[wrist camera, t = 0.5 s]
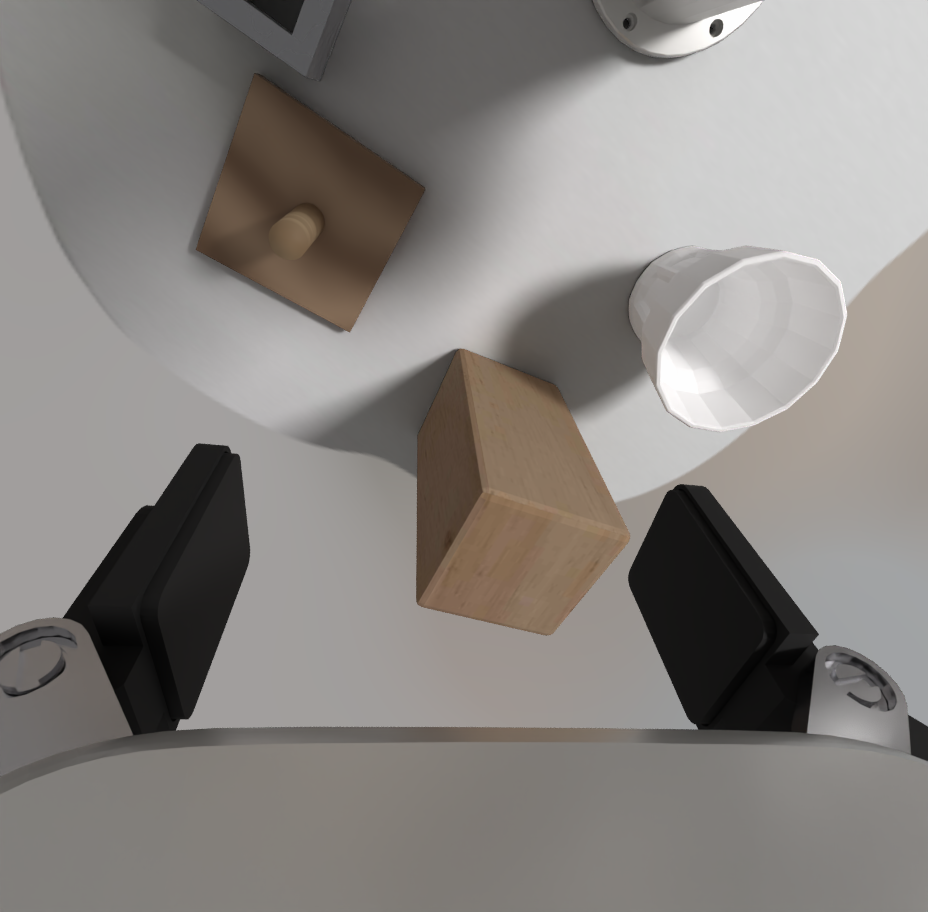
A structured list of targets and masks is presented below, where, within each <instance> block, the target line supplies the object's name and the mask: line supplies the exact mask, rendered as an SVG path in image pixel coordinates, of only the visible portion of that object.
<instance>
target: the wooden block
mask: <svg viewBox="0 0 928 912" xmlns="http://www.w3.org/2000/svg"><path fill="white" fill-rule="evenodd" d="M629 539H630V533H629V531H628V529H627V527H626V525H625V523H624V521H623V519H622V517H621V515H620V513H619V511H618V509H617V507H616V505H615V503H614V501H613V499H612V497H611V495H610V493H609V491H608V489H607V486H606V484H605V482H604V480H603V478H602V476H601V474H600V472H599V470H598V468H597V466H596V464H595V462H594V460H593V458H592V456H591V454H590V452H589V450H588V448H587V446H586V444H585V442H584V440H583V438H582V436H581V434H580V432H579V430H578V428H577V426H576V424H575V422H574V420H573V417H572V415H571V413H570V411H569V409H568V407H567V405H566V403H565V401H564V399H563V397H562V395H561V393H560V391H559V389H558V387H557V386H556V385H554V384H551V383H549V382H546V381H544V380H541V379H538V378H536V377H533V376H531V375H528V374H526V373H523V372H521V371H518V370H516V369H513V368H511V367H508V366H506V365H503V364H501V363H498V362H496V361H493V360H491V359H488V358H485V357H483V356H480V355H478V354H475V353H473V352H470V351H468V350H465V349H459V350H458V351H457V352H456V353H455V356H454V358H453V360H452V362H451V364H450V366H449V369H448V371H447V373H446V375H445V377H444V379H443V382H442V384H441V386H440V388H439V390H438V392H437V395H436V397H435V399H434V401H433V403H432V406H431V408H430V410H429V412H428V414H427V416H426V419H425V421H424V423H423V425H422V427H421V429H420V432H419V434H418V448H417V572H416V573H417V574H416V600H417V604H418V605H419V606H421V607H424V608H428V609H433V610H437V611H442V612H446V613H451V614H455V615H459V616H463V617H468V618H472V619H476V620H481V621H485V622H489V623H494V624H498V625H502V626H507V627H511V628H515V629H520V630H524V631H528V632H533V633H537V634H541V635H551V634H553V633H554V632H555V630H556V629H557V628H558V627H559V626H560V624H561V623H562V622H563V621H564V619H565V618H566V617H567V616H568V615H569V613H570V612H571V611H572V610H573V609H574V607H575V606H576V605H577V604H578V603H579V601H580V600H581V599H582V598H583V597H584V595H585V594H586V593H587V592H588V591H589V589H590V588H591V587H592V586H593V585H594V583H595V582H596V581H597V580H598V578H599V577H600V576H601V575H602V574H603V572H604V571H605V570H606V569H607V568H608V566H609V565H610V564H611V563H612V562H613V560H614V559H615V558H616V557H617V556H618V554H619V553H620V552H621V551H622V550H623V548H624V547H625V546H626V545H627V544H628V542H629Z"/></svg>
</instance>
